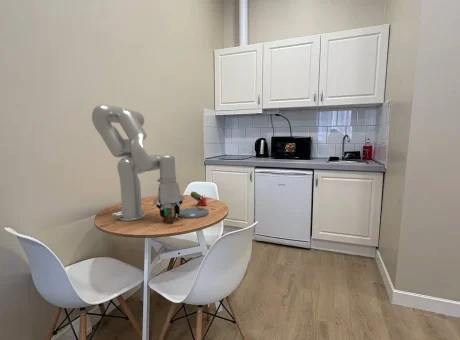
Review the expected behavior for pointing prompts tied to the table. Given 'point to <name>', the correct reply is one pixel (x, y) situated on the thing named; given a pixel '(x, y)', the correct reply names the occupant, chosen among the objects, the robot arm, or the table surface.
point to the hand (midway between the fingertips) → (170, 215)
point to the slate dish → (193, 213)
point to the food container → (169, 213)
